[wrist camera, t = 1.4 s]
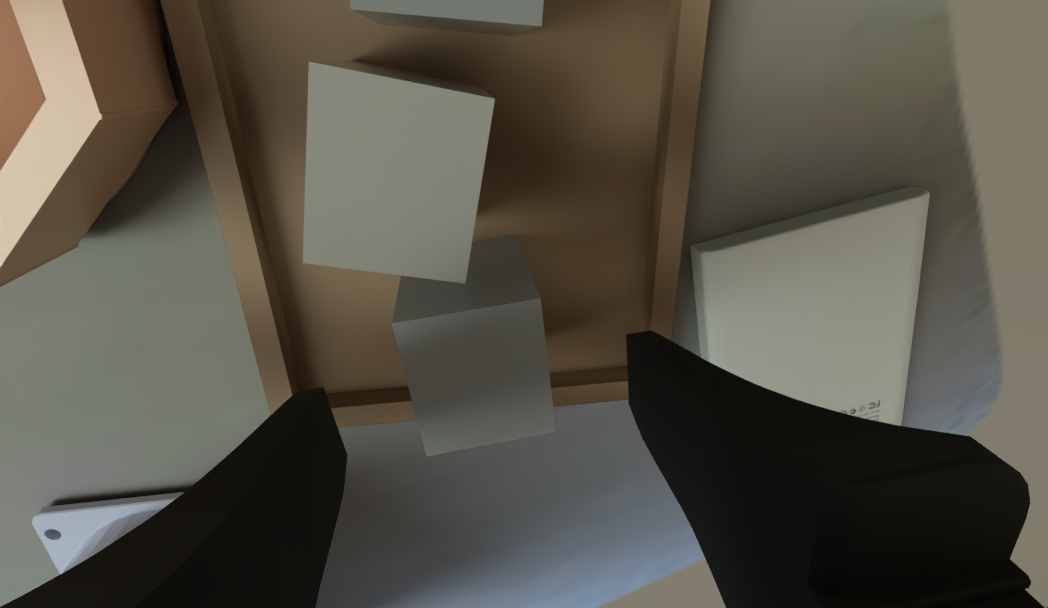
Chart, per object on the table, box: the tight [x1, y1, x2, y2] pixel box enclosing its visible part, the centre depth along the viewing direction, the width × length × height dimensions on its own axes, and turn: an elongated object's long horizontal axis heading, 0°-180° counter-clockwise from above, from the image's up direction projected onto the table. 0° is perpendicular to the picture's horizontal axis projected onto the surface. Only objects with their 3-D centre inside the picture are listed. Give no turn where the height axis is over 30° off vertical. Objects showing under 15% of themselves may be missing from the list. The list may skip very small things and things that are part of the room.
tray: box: [161, 0, 710, 427], centre depth 15 cm, size 18×14×1 cm
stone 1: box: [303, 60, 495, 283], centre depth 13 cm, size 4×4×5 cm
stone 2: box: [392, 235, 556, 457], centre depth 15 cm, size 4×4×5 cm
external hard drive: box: [690, 186, 930, 426], centre depth 21 cm, size 2×8×12 cm
